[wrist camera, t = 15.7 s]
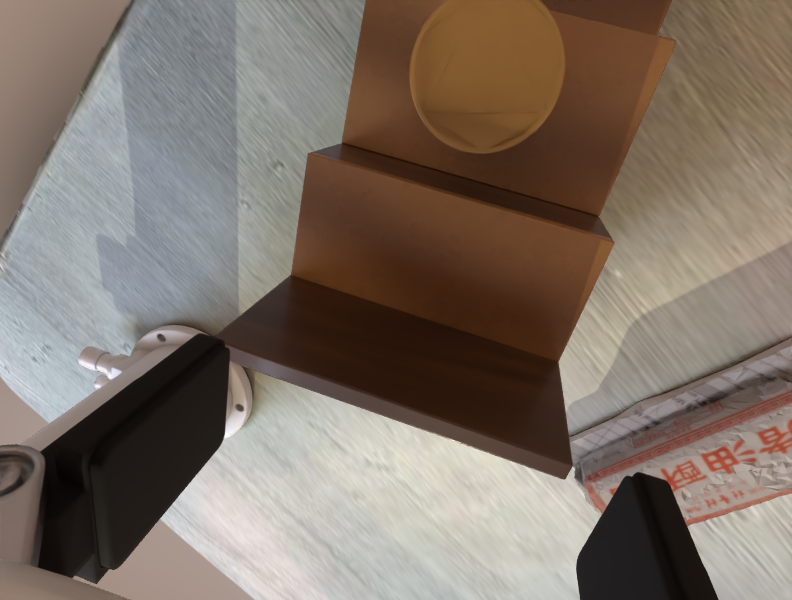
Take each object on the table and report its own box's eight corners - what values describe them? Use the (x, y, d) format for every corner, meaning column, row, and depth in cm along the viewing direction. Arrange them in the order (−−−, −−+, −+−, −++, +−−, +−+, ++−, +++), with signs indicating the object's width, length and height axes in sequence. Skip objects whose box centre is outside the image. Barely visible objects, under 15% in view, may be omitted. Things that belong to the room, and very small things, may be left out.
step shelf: (436, -154, 25) (266, -652, 8) (701, -101, 24) (1160, -583, 7) (359, 227, 35) (209, 355, 18) (542, 284, 33) (565, 481, 17)
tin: (460, 6, 21) (430, -35, 14) (568, 32, 21) (592, 3, 14) (431, 119, 24) (394, 132, 17) (528, 146, 23) (532, 171, 16)
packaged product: (634, 571, 36) (559, 481, 34) (622, 519, 40) (555, 437, 38) (922, 489, 28) (843, 368, 26) (869, 436, 32) (798, 329, 31)
